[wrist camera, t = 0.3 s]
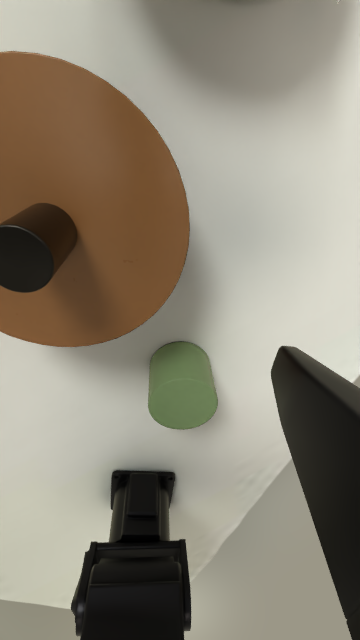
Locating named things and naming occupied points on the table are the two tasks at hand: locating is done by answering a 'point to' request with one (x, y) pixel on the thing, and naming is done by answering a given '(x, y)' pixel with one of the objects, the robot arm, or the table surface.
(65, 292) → the wooden lid
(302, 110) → the table surface
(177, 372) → the candle
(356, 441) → the robot arm
